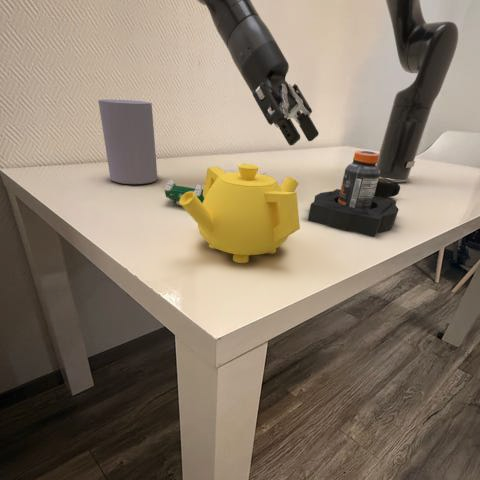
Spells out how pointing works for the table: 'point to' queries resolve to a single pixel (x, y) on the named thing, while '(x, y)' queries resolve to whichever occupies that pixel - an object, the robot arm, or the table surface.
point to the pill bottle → (360, 181)
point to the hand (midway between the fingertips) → (305, 140)
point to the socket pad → (353, 214)
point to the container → (129, 141)
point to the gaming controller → (182, 192)
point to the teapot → (244, 211)
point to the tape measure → (386, 188)
